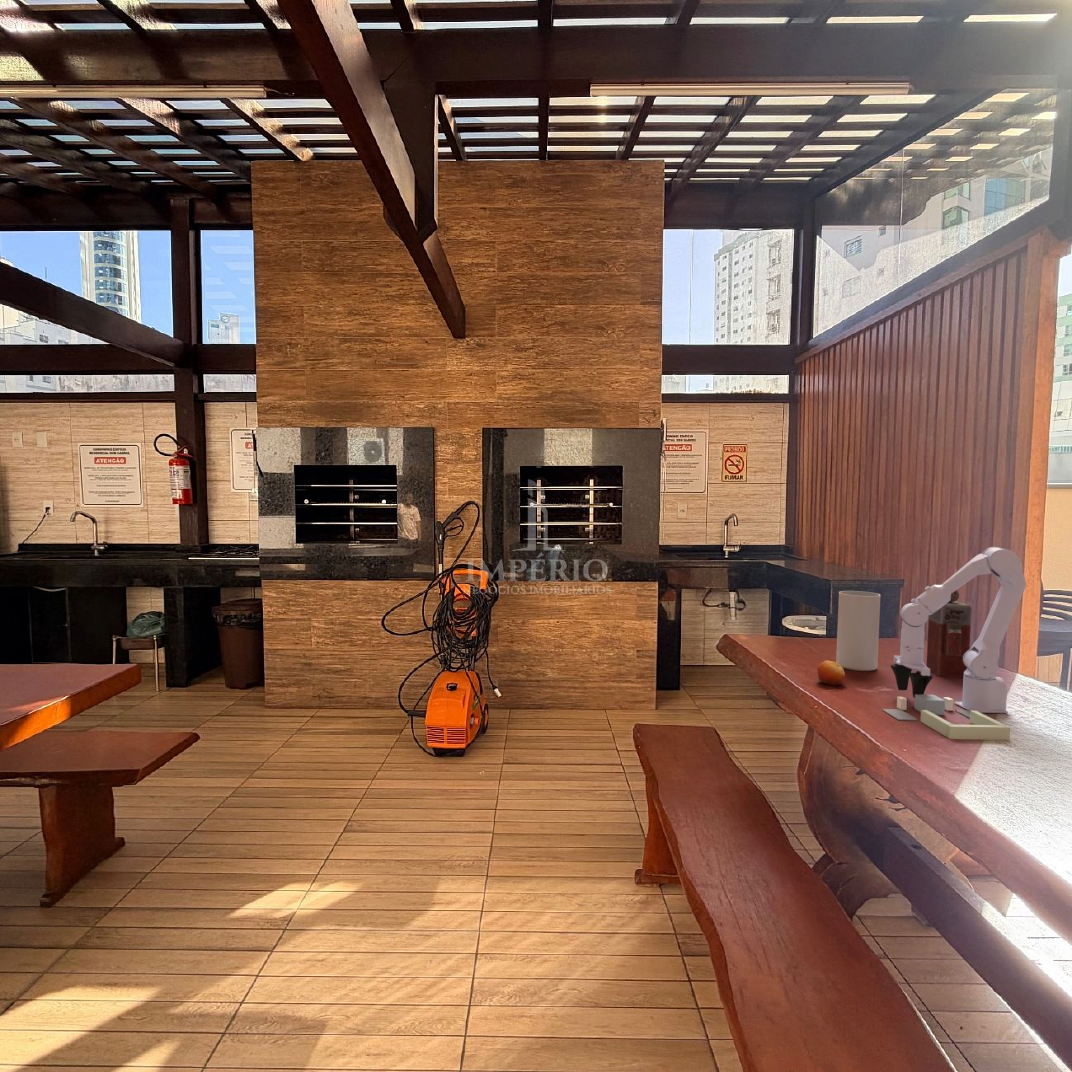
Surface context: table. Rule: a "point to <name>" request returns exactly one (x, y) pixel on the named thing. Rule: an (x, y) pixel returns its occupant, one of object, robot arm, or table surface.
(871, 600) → the cylinder vase
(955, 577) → the robot arm
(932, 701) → the block
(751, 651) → the table surface
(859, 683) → the table surface
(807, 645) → the table surface
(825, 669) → the fruit
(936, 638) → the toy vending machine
